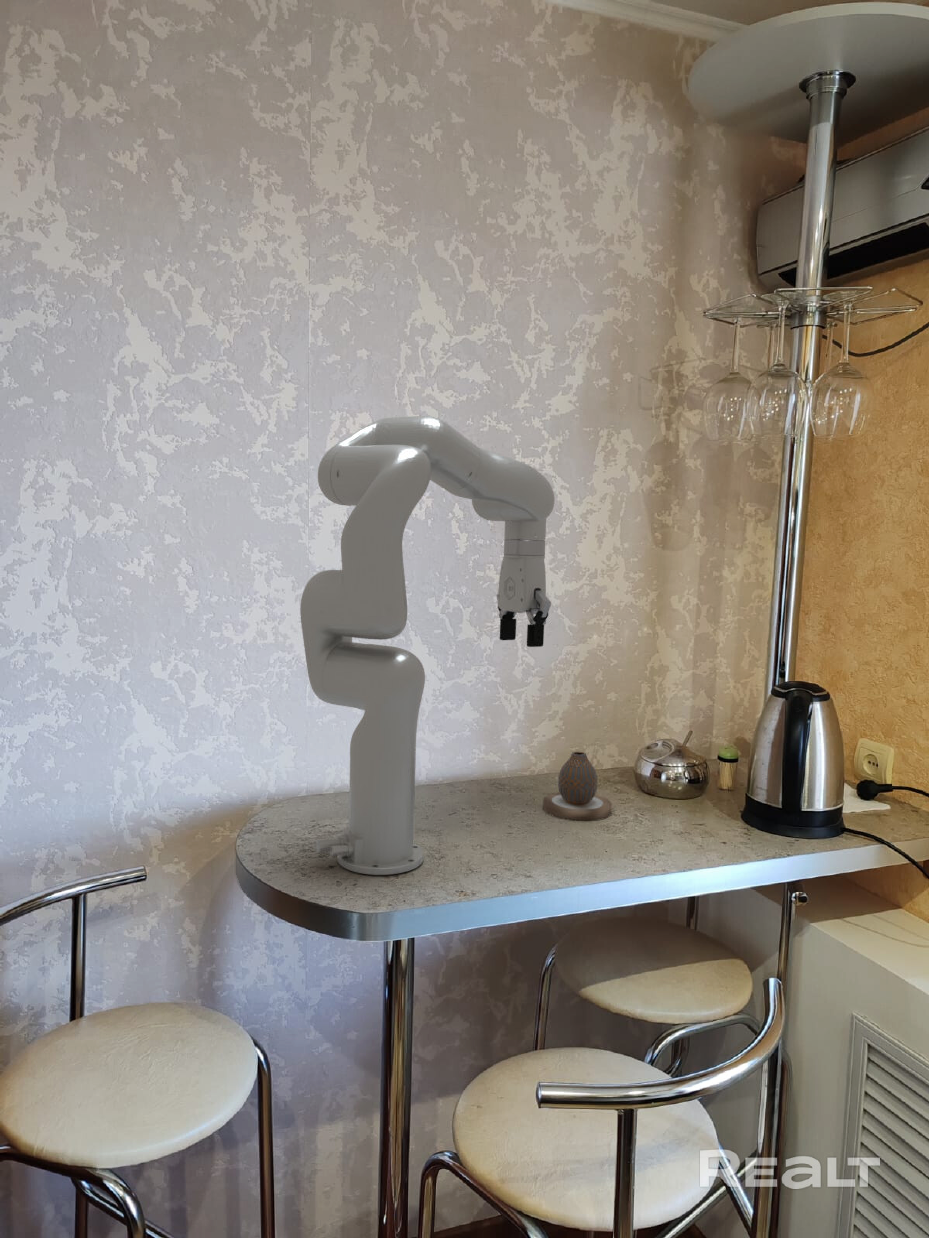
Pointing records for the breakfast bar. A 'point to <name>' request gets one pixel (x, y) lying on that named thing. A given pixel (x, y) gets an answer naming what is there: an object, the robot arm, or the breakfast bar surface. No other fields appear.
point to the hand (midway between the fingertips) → (520, 643)
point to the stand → (577, 808)
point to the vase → (577, 780)
